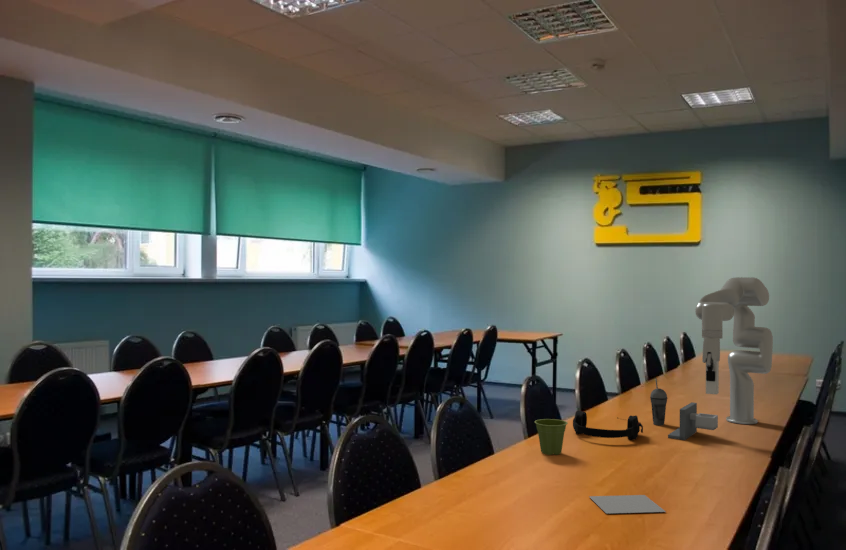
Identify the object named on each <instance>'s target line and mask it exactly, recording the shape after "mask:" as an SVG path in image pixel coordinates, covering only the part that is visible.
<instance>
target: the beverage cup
mask: <svg viewBox="0 0 846 550" xmlns="http://www.w3.org/2000/svg"><path fill="white" fill-rule="evenodd" d="M657 380H658V379H657V378H655V386H656V388H654V389H653V390H651V393H650V395H649V396H650V397H649V399H650V404H651V413H652V415H651V417H652V425H655V426H664V425H665V420H666V413H667V412H666V410H667V403H668V399H669V398H668V395H667V394H668V393H667V392H666V391H665V390H664V389H663V388H659V387H658V381H657Z"/></svg>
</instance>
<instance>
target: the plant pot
mask: <svg viewBox="0 0 846 550" xmlns="http://www.w3.org/2000/svg"><path fill="white" fill-rule="evenodd" d="M534 424H535V426H536V430H537V434H538V442H539V446H540V453H541V454H543V455H547V456H553V455H555V456H558V455H560V454H562V452H563V444H564V443H563V442H564V438H565V431H566V429H567V425H568V421H566V420H561V419H555V418H552V419H551V418H543V419H537V420H535V421H534Z"/></svg>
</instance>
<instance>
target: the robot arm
mask: <svg viewBox="0 0 846 550" xmlns="http://www.w3.org/2000/svg"><path fill="white" fill-rule="evenodd" d="M769 301H770V294H769V290H768V289H767V286H765V284H764V283H763V282H762V280H761V279H759V278H758V277H753V276H752V277H751V276H750V277H743V276H741V277H740V276H739V277H731V278H729V279H728V280H726V282H725V283H724V284H723V286H722V287H721V288H720V289H718V290H716V291H713V292H711V293H708V294H705V295H704V296H702V297H701V298H700V299H699V300H698V303H697V304H696V306H695V316H696V317H697V319H698V320H700V321H701V338H703V341H702V359H701V360H702V363H704V364H706V359H707V368H706V367H705V381H706V380H707V381H715V371H714V368H715V363H716V362H717V361H719V362H720V360H721V340H720V339H722V340H723V322H728V321H731V320H732V319H733V324H732V325H733V329H732V342H733V345H734V346H736V347H739V348H747V349H758V350H759V351H757V350H756V351H754V350H742V349H740V350H738V349H737V350H732V351H730V352H729V353H728V355H727V365H728V369H729V415H728V416H726V418H725V419H726V422H729V423H733V424H740V425H755V424H758V419H757V418H754V417H755V416H754V415H755V413H754V408H755V407H754V406H755V403H754V402H755V399H754V398H755V397H754V395H755V393H754V391H755V388H754V386H755V385H754V384H755V383H754V380H753V379H752V377H751V375H749V374H752V373H753V374H760V375H761V374H764V375H765V374H768V373H770V372H771V370H772V365H773V347H774V345H773V344H774V339H773V332H772V330H771V329H769V328H768V327H764V326H756V325H755V322H756V321H755V319H756V316H755V314H754V312H753V310H751V308H750V307H764V306H766V305H767V304H768V303H769ZM711 362H713V363H711ZM712 365H713V367H712ZM706 370H707V371H706Z"/></svg>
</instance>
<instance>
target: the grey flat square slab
mask: <svg viewBox="0 0 846 550" xmlns="http://www.w3.org/2000/svg"><path fill="white" fill-rule="evenodd" d="M588 497H589V498H590V499H591V500H592V501H593V502H594V503H595V504H596V505H597V506H598V507H599V508H600V509H601V510H602V511H603V512H604V513H605V514H633V513H634V514H636V513H637V514H639V513H641V514H642V513H667V512H666V510H665V509H663V508H662V507H661V506H659V505H658V504H657V503H655V502H654V501H653V500H652V499H650V497H648V496H647V495H645V494H633V495H632V494H631V495H629V494H628V495H627V494H626V495H599V496H598V495H591V496H588Z"/></svg>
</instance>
